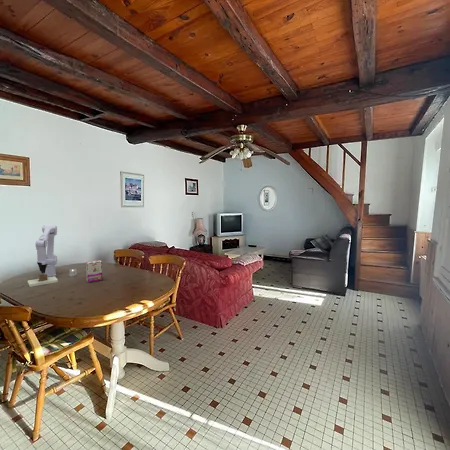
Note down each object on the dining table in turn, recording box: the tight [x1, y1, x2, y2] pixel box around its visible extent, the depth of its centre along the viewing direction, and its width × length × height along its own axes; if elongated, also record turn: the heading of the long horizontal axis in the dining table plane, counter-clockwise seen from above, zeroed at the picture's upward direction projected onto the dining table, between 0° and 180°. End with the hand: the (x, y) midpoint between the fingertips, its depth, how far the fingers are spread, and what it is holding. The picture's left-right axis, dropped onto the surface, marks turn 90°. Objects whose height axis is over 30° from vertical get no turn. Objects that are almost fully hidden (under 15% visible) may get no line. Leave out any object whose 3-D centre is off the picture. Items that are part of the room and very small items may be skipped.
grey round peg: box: [68, 268, 78, 278], centre depth 212 cm, size 6×6×6 cm
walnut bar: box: [38, 273, 47, 281], centre depth 194 cm, size 3×5×6 cm, turn 135°
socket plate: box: [27, 275, 59, 288], centre depth 194 cm, size 12×18×2 cm, turn 135°
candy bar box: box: [85, 259, 103, 283], centre depth 201 cm, size 11×5×16 cm, turn 129°
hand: (42, 271), depth 193 cm, fingers open, 7 cm apart
